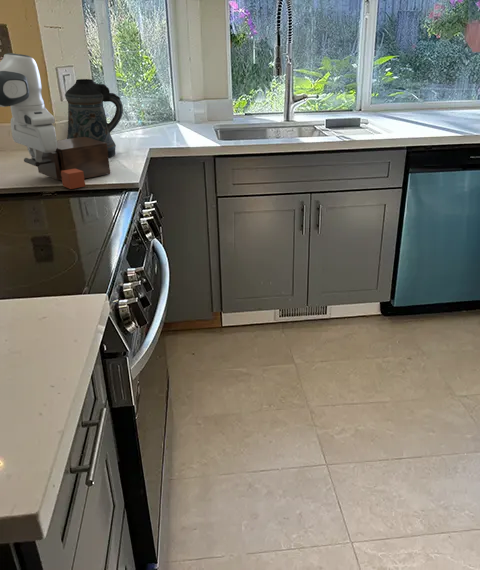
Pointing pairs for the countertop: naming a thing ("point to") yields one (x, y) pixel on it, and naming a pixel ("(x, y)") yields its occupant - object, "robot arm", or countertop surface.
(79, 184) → the block
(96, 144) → the cabinet
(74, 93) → the dark grey pitcher
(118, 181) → the countertop surface
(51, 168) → the drawer
